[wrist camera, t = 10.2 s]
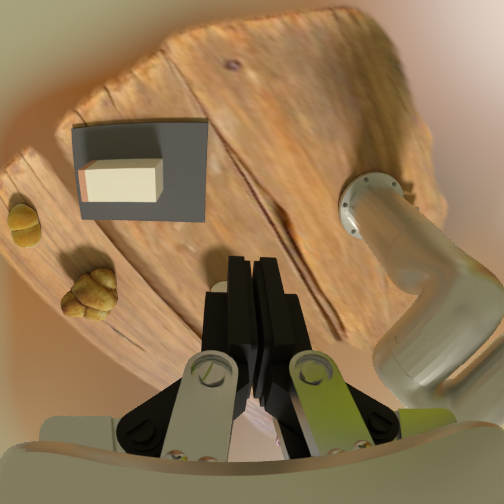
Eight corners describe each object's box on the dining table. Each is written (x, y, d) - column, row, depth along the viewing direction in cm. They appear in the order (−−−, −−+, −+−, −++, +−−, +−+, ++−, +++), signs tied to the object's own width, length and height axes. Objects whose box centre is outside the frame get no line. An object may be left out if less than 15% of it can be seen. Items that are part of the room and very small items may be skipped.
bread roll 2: (100, 253, 50) (85, 279, 43) (136, 286, 55) (126, 315, 48) (68, 284, 53) (53, 310, 47) (100, 313, 58) (89, 340, 51)
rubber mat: (208, 122, 39) (208, 123, 39) (204, 220, 48) (204, 222, 47) (73, 128, 37) (71, 129, 37) (83, 218, 46) (81, 219, 45)
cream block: (155, 168, 37) (77, 170, 36) (156, 202, 40) (81, 201, 38) (162, 158, 41) (91, 160, 40) (163, 189, 44) (94, 189, 43)
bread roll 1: (35, 199, 43) (24, 209, 40) (47, 241, 48) (37, 252, 44) (7, 203, 42) (-4, 212, 39) (19, 242, 47) (10, 253, 44)
